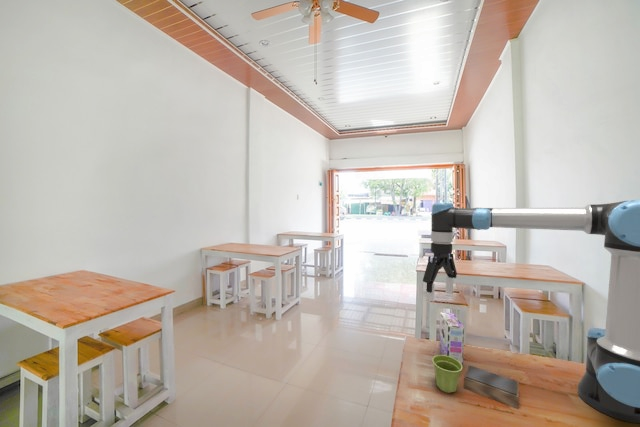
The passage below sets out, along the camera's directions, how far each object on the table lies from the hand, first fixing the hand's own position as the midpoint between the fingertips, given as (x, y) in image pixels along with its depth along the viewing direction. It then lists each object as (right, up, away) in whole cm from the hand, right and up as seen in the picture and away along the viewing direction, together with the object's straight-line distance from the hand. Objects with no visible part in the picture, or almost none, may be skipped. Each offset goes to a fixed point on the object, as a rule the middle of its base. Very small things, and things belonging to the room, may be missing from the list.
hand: (440, 296), depth 103 cm
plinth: (+11, -28, -13) cm, 33 cm away
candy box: (+7, -27, +6) cm, 29 cm away
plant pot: (-3, -28, -12) cm, 30 cm away
